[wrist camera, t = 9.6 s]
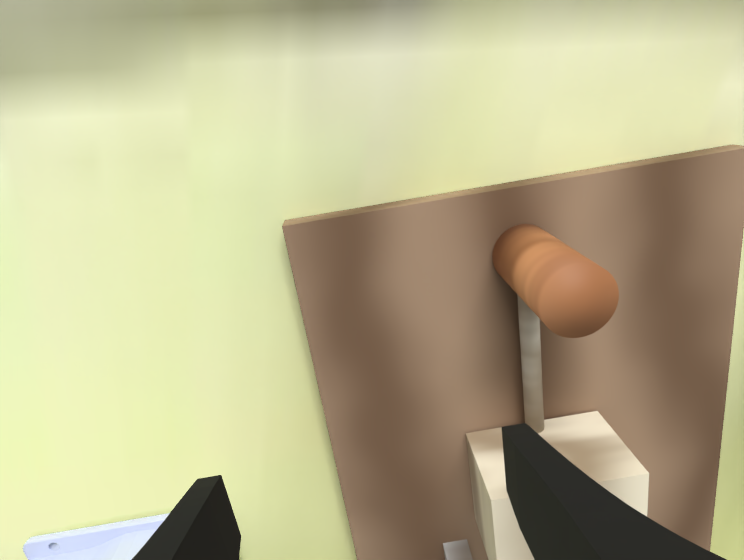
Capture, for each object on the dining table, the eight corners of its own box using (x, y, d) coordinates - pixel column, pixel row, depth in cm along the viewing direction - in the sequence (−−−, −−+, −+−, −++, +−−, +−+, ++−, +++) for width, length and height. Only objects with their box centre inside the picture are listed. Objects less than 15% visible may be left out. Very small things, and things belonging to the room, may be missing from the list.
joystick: (475, 518, 24) (507, 619, 19) (443, 237, 19) (477, 281, 15) (597, 497, 24) (659, 592, 20) (597, 211, 19) (680, 247, 15)
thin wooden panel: (405, 763, 32) (411, 815, 30) (284, 220, 20) (277, 236, 17) (680, 715, 32) (707, 763, 30) (732, 144, 20) (785, 150, 18)
